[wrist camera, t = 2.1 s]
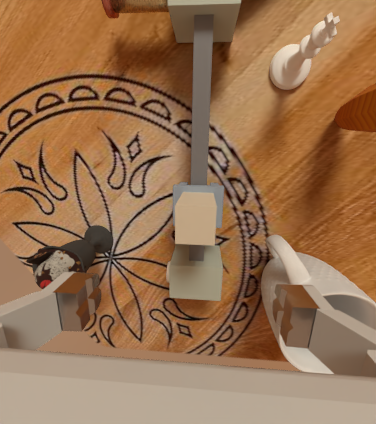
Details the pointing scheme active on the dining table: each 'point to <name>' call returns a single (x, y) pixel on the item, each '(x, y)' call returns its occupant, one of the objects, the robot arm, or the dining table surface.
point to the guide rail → (200, 136)
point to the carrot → (359, 112)
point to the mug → (324, 282)
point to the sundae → (70, 256)
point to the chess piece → (301, 55)
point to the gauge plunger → (133, 6)
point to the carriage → (197, 213)
